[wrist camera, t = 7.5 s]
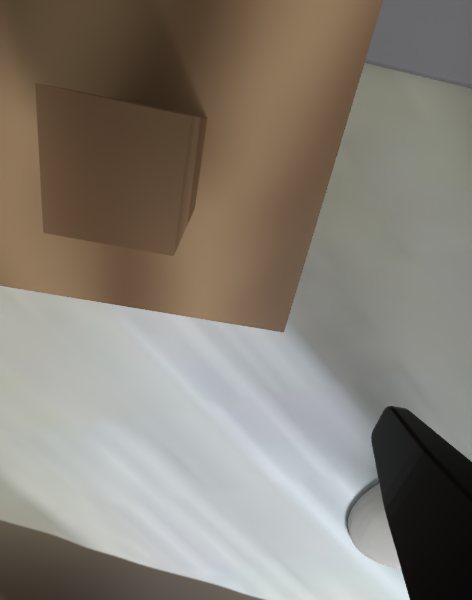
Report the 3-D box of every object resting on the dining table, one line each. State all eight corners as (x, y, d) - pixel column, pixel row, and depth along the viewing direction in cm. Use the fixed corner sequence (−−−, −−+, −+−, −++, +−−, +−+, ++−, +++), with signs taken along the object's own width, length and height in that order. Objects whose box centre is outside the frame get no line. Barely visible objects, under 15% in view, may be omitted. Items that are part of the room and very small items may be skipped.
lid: (377, -13, 11) (518, -145, 5) (281, 320, 16) (304, 419, 11) (-34, -120, 10) (-364, -417, 4) (8, 274, 15) (-117, 359, 10)
